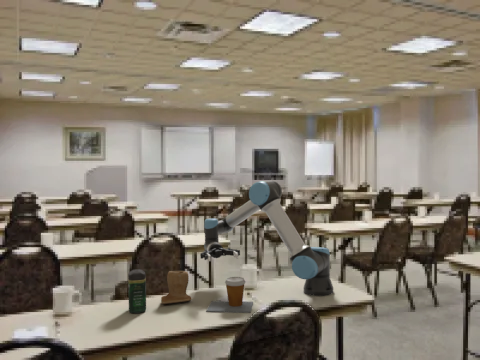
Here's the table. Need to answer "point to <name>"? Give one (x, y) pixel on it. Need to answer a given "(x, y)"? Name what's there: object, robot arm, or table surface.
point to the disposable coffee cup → (235, 290)
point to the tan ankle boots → (176, 287)
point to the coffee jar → (137, 291)
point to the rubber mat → (229, 307)
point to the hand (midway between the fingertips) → (223, 257)
